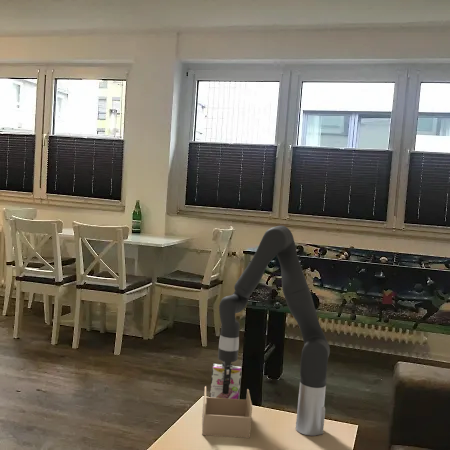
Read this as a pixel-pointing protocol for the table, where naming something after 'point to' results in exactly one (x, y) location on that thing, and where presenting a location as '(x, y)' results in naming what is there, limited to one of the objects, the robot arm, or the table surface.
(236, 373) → the candy bar box
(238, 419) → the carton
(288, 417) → the table surface
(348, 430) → the table surface
